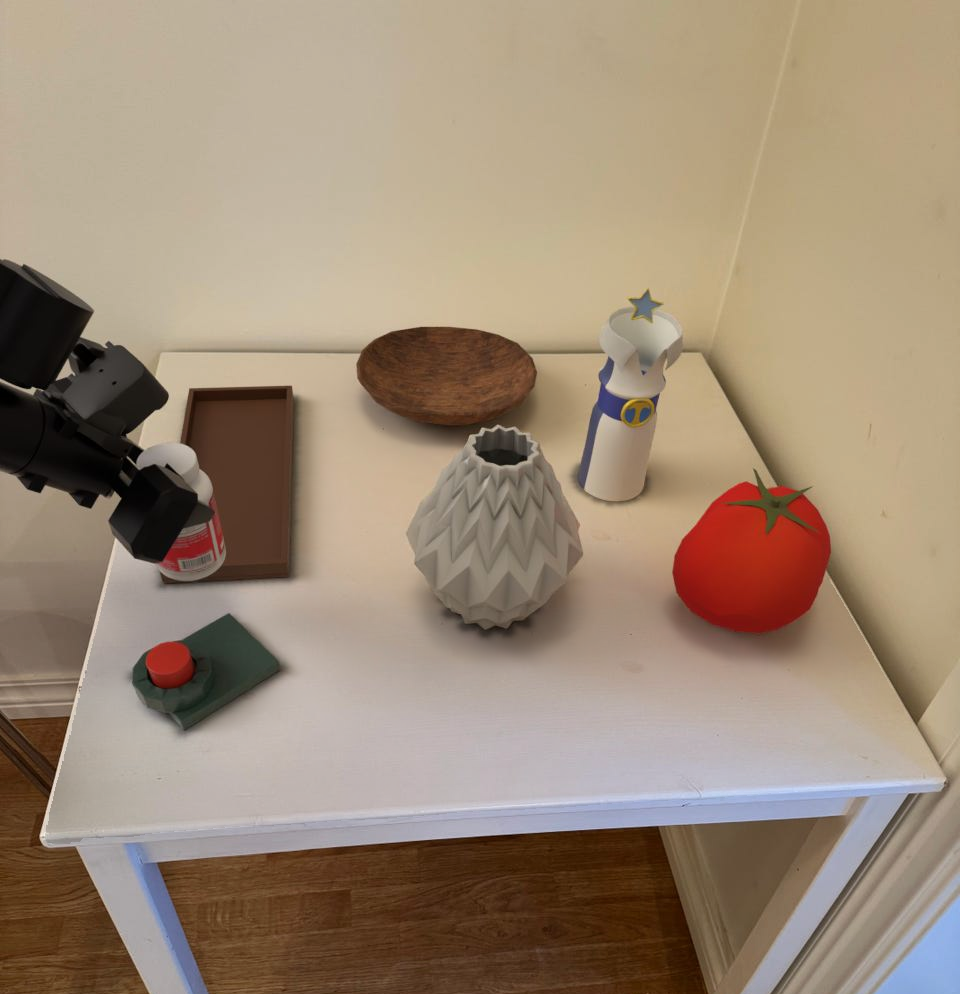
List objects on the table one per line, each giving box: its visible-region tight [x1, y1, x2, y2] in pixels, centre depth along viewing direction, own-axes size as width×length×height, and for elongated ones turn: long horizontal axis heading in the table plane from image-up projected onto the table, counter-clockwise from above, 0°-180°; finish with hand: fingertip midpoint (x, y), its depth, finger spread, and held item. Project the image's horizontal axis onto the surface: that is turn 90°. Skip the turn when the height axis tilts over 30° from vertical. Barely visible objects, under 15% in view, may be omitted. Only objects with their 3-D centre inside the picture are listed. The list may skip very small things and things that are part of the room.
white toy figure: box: [577, 287, 684, 502], centre depth 89 cm, size 8×9×25 cm
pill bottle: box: [136, 442, 226, 581], centre depth 73 cm, size 6×6×11 cm
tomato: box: [671, 467, 832, 635], centre depth 81 cm, size 16×14×14 cm
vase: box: [405, 424, 584, 631], centre depth 78 cm, size 16×16×18 cm
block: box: [132, 612, 281, 731], centre depth 76 cm, size 11×8×3 cm
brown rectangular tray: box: [158, 385, 295, 585], centre depth 94 cm, size 31×12×2 cm, turn 7°
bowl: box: [355, 326, 538, 426], centre depth 106 cm, size 20×22×5 cm
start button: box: [146, 641, 195, 689], centre depth 73 cm, size 4×4×2 cm
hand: (191, 496), depth 73 cm, fingers closed on pill bottle, 6 cm apart
